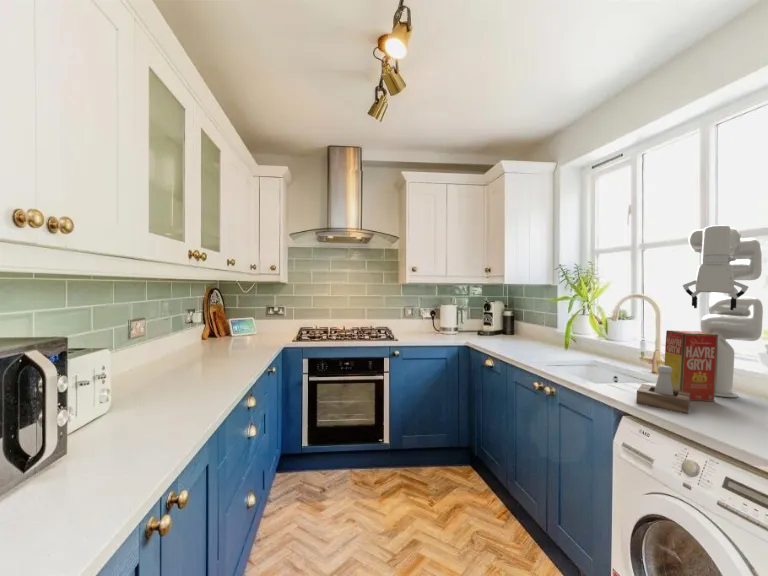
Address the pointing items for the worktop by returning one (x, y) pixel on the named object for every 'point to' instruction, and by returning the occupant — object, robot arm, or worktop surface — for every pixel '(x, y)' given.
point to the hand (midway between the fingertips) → (713, 309)
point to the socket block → (663, 399)
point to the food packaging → (692, 362)
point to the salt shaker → (664, 380)
